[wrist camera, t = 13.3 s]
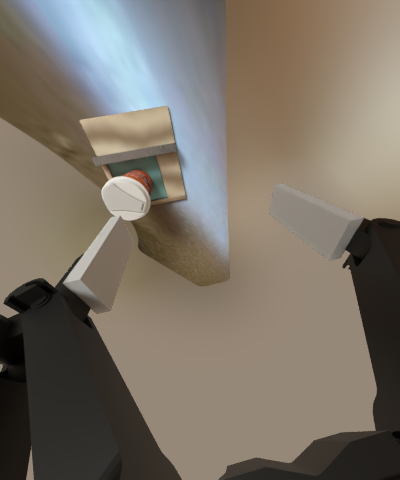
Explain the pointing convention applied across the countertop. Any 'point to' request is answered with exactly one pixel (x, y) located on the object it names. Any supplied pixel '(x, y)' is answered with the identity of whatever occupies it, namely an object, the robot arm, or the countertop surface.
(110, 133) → the board
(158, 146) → the rail
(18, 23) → the countertop surface
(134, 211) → the coffee cup
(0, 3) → the countertop surface
